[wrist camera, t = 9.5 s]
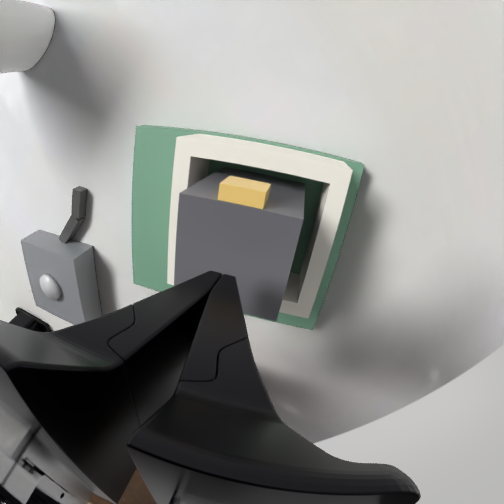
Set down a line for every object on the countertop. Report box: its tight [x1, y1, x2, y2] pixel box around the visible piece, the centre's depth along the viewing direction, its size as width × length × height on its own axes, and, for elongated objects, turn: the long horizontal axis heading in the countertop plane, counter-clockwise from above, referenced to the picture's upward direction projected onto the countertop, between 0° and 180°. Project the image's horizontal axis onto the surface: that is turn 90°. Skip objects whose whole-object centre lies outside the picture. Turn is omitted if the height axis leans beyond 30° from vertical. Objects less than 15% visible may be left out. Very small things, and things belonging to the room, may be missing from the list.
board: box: [132, 125, 364, 330], centre depth 16 cm, size 11×13×4 cm
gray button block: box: [21, 186, 102, 325], centre depth 20 cm, size 12×7×3 cm, turn 171°
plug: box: [174, 167, 305, 321], centre depth 13 cm, size 5×4×6 cm
